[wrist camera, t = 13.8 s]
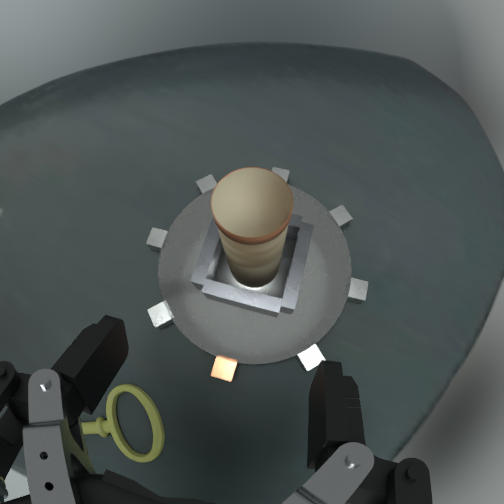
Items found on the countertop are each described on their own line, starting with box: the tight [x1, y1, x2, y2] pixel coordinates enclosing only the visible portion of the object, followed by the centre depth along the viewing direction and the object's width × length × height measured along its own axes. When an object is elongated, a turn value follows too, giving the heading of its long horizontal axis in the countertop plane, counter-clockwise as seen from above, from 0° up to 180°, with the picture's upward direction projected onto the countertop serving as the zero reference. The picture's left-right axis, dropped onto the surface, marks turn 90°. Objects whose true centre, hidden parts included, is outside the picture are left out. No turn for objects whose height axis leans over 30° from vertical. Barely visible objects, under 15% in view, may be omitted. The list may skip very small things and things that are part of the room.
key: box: [81, 384, 165, 462], centre depth 20 cm, size 7×12×2 cm, turn 124°
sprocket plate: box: [146, 167, 368, 381], centre depth 24 cm, size 19×19×4 cm
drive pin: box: [211, 167, 293, 288], centre depth 19 cm, size 4×4×10 cm
